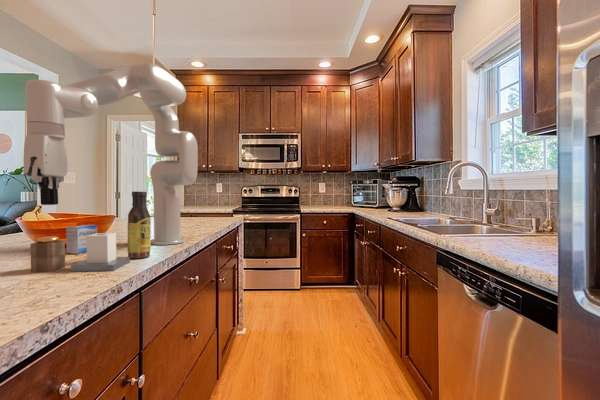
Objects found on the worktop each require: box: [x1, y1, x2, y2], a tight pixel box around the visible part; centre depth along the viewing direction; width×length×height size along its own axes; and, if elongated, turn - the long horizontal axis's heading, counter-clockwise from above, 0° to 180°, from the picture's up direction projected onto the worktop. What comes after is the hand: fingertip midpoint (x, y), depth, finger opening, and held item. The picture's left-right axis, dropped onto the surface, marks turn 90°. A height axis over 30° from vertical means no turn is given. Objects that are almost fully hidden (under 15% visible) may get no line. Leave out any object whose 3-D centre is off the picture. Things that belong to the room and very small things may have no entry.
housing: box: [86, 232, 117, 263], centre depth 87 cm, size 5×5×7 cm
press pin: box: [36, 236, 60, 243], centre depth 83 cm, size 4×4×6 cm
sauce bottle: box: [127, 190, 152, 260], centre depth 99 cm, size 6×6×20 cm
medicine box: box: [65, 224, 98, 255], centre depth 108 cm, size 8×4×9 cm, turn 168°
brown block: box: [30, 239, 66, 273], centre depth 84 cm, size 5×5×7 cm
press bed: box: [70, 256, 131, 272], centre depth 87 cm, size 10×10×2 cm
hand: (49, 204), depth 84 cm, fingers closed
